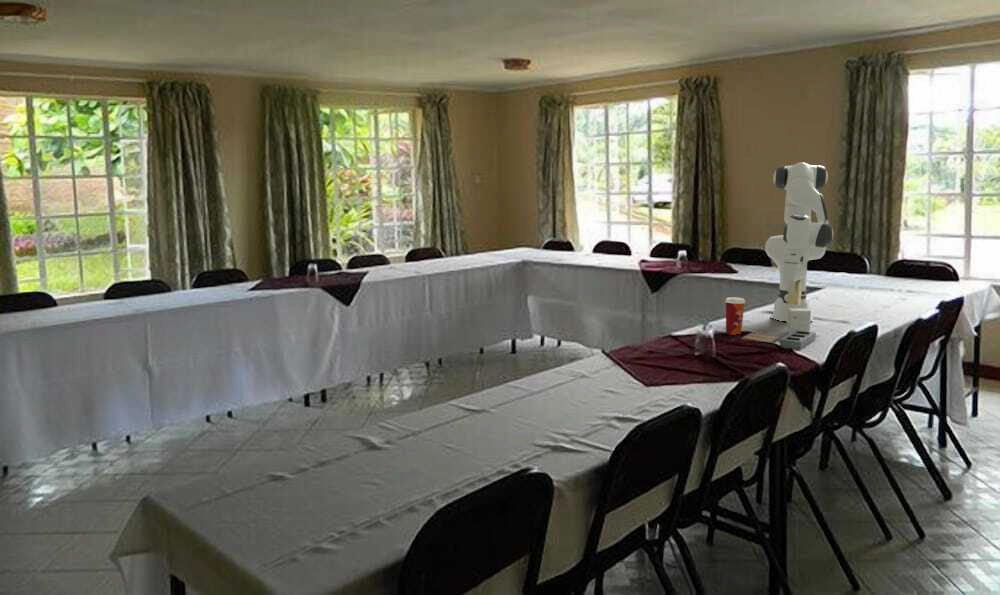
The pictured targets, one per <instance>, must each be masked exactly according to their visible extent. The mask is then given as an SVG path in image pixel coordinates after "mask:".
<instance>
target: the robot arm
mask: <svg viewBox="0 0 1000 595" xmlns="http://www.w3.org/2000/svg"><path fill="white" fill-rule="evenodd" d="M772 178H773V179H772V180H773V183H774V187H776V189H778V190H783V191H784V190H786V191H785V192H786V194H785V201H784V202H785V204H784V213H783V214H784V217H783V220H784V223H785V224H786V225H784V226H783V234H782V235H781V234H780V235H773V236H770V237H769V238H768V239H767V240H766V242H765V246H764V250H765V254H766V255H767V256H768V258H770V259H771V260H772V261H774V263H775V264H776V266H777V268H778V270H779V289H778V292H777V294H778V296H777V297H778V298H777V299H776V300H774V303H773V304H774V305H773V314H771V315H769V318H770V317H772V318H774V319H773V320H775V319H776V320H775V321H777V320H779V321H778V322H782V321H786V322H785V323H787V319H788V308H802V309H808V310H810V305H809V302H808V301H807V295H808V294H807V292H808V290H807V289H806V286H807V285H806V284H807V273H808V272H807V271H808V262H809V261H812V260H818V259H819V260H820V259H822V257H823V256H824V255H825V253H826V250H827V247H828V246H829V245H830V244H832V242H833V239H834V229H833V227H832V225H831V221H830V218H829V217H830V216H829V213H828V209H827V205H826V201H825V198H824V195H823V194H822V193H821V192H819V190H821V189H823V188H825V187H826V184H827V182H828V179H829V174H828V171H827V168H826V167H825V166H824V165H820V164H817V165H814V164H813V165H812V164H809V163H806V162H797V163H795V164H793V165H780V166H778V167H777V168H776V170H775V171H774V173H773V177H772ZM812 211H813V213H815V216H816V220H817V222H813V221H812ZM796 281H802V290H801V304H799V305H794V304H788V288H789V282H790V292H795V291H796ZM772 318H771V319H772ZM812 320H814V315H812V314H811V316H810V323H812V322H813V321H812ZM811 321H812V322H811Z"/></svg>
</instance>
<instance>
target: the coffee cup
mask: <svg viewBox="0 0 1000 595" xmlns="http://www.w3.org/2000/svg"><path fill="white" fill-rule="evenodd" d="M724 303H725V334H726V335H730V336H737V335H736V334H740V335H741V334H742V327H743V320H744V310H745V303H746V300H745V298H743V297H737V296H736V297H735V296H732V297H730V296H729V297H727V298H726V299H725V301H724Z"/></svg>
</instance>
